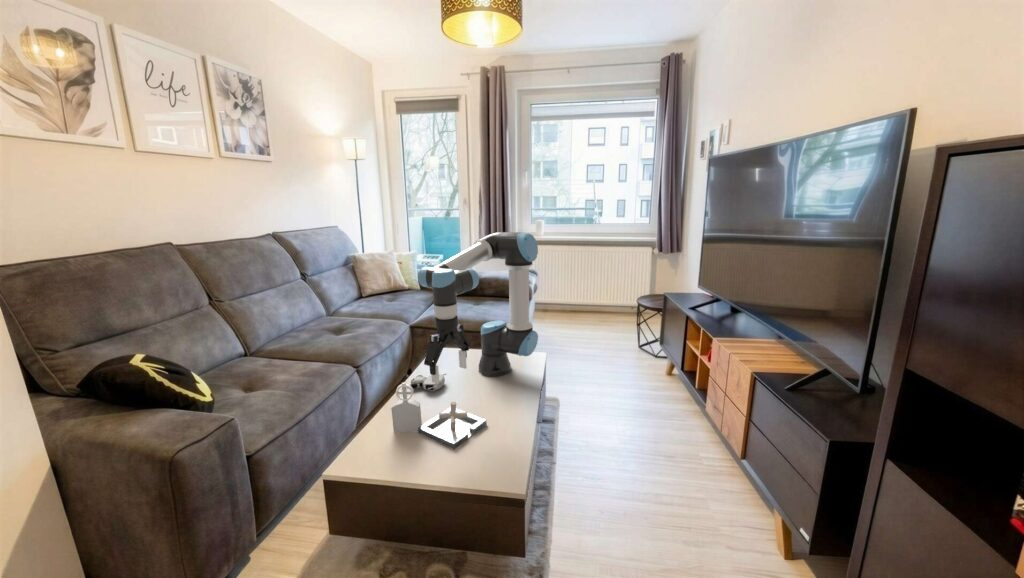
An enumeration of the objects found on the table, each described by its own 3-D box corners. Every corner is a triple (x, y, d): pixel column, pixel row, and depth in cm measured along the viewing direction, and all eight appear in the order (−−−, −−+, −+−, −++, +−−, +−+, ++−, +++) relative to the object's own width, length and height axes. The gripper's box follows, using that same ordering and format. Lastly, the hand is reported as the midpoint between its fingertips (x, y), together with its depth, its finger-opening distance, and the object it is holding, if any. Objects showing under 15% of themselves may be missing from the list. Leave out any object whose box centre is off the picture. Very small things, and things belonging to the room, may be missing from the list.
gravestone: (395, 427, 146) (391, 381, 141) (421, 426, 146) (418, 380, 142) (393, 432, 143) (389, 385, 139) (420, 431, 143) (416, 384, 139)
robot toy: (405, 394, 171) (438, 395, 168) (404, 384, 170) (437, 385, 167) (417, 381, 183) (449, 381, 180) (416, 372, 182) (447, 372, 179)
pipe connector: (438, 419, 148) (439, 395, 145) (466, 418, 150) (467, 395, 147) (438, 437, 139) (438, 411, 136) (467, 436, 140) (468, 411, 137)
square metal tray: (451, 411, 156) (451, 406, 155) (486, 424, 146) (486, 419, 146) (418, 432, 142) (417, 427, 142) (454, 449, 133) (453, 444, 132)
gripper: (462, 305, 146) (465, 359, 152) (409, 324, 127) (414, 386, 132) (478, 308, 142) (481, 364, 147) (426, 328, 122) (431, 392, 128)
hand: (449, 374), depth 140 cm, fingers open, 13 cm apart
